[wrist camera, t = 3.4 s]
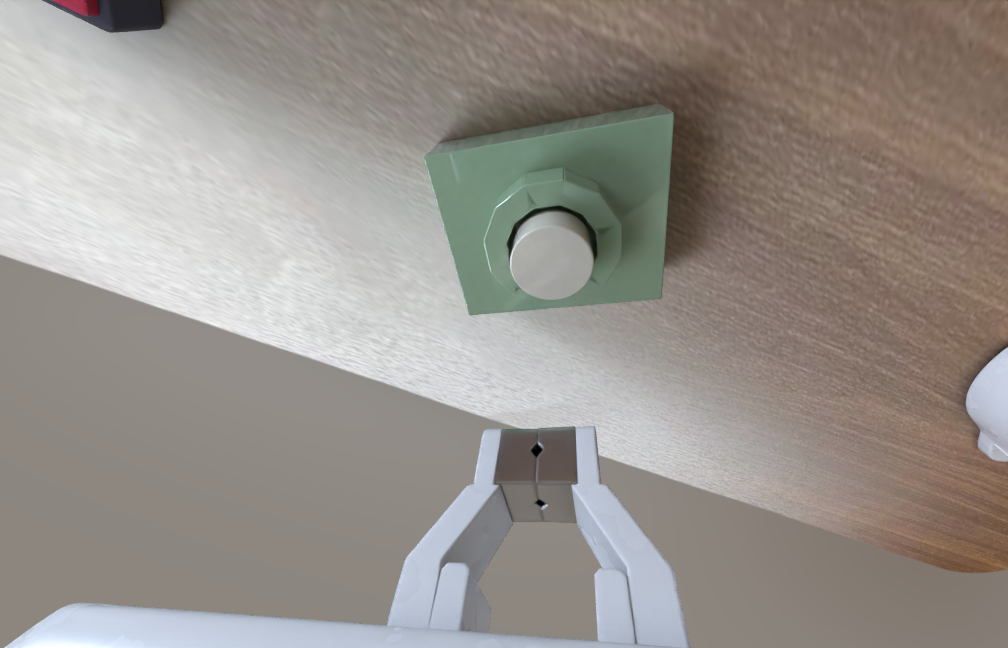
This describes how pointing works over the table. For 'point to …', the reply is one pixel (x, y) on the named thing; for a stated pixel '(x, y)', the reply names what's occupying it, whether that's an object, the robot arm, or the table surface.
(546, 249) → the grey button cap
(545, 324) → the table surface
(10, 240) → the table surface
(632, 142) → the grey button cap base
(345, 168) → the table surface
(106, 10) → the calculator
